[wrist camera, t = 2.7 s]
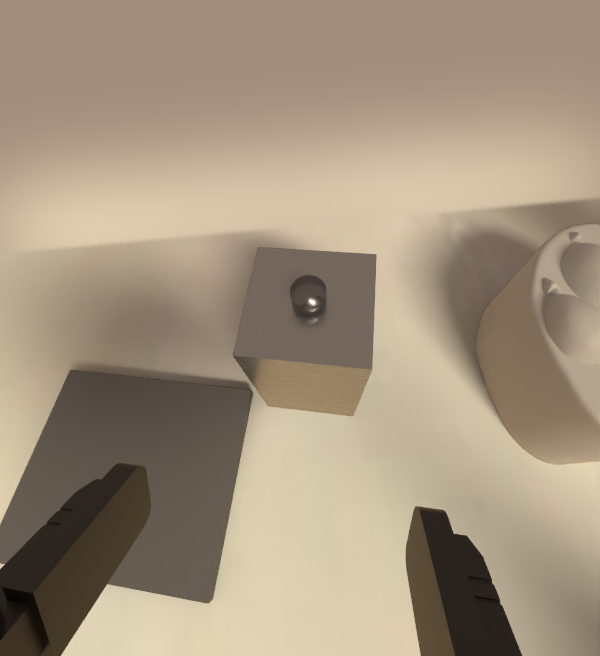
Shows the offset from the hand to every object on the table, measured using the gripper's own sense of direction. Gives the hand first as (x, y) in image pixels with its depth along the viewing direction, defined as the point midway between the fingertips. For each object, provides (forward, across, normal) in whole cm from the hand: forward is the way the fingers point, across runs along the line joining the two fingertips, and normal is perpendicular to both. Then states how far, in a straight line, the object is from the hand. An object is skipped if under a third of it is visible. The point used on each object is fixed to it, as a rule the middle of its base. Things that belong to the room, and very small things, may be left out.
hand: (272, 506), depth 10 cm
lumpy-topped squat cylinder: (+16, -17, +1) cm, 24 cm away
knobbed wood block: (+15, 0, +3) cm, 15 cm away
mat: (+9, +11, +9) cm, 17 cm away
